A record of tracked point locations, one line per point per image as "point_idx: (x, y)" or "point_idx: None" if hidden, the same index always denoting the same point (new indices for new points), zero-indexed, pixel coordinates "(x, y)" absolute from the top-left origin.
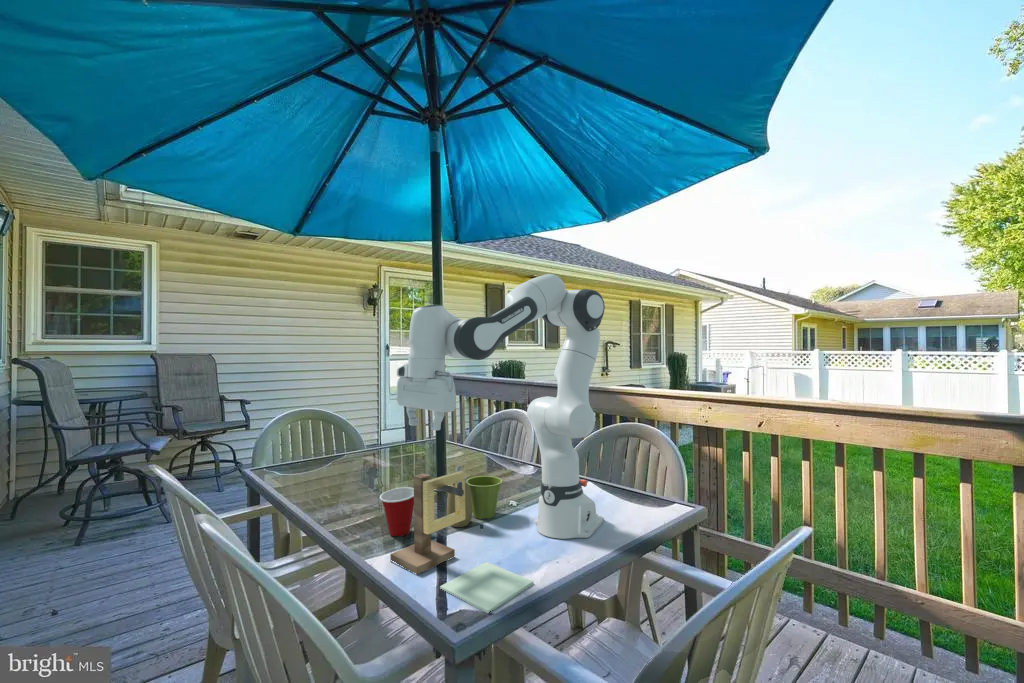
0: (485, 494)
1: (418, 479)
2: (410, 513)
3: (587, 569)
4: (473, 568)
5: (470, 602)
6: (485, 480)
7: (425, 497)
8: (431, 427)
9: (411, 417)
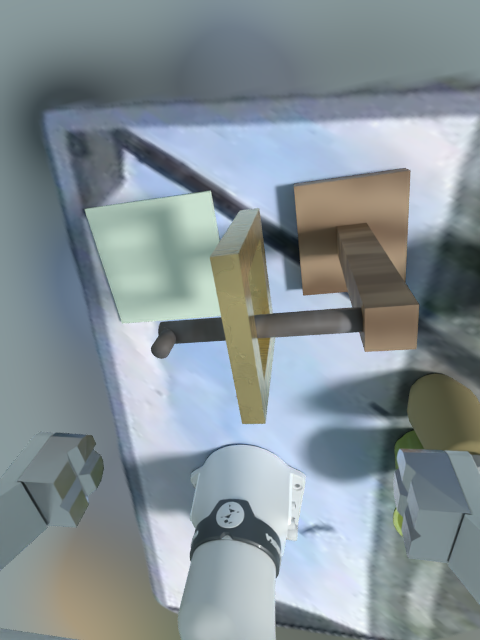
0: None
1: (379, 303)
2: None
3: (112, 401)
4: None
5: (126, 203)
6: None
7: (232, 237)
8: (68, 443)
9: (470, 536)
